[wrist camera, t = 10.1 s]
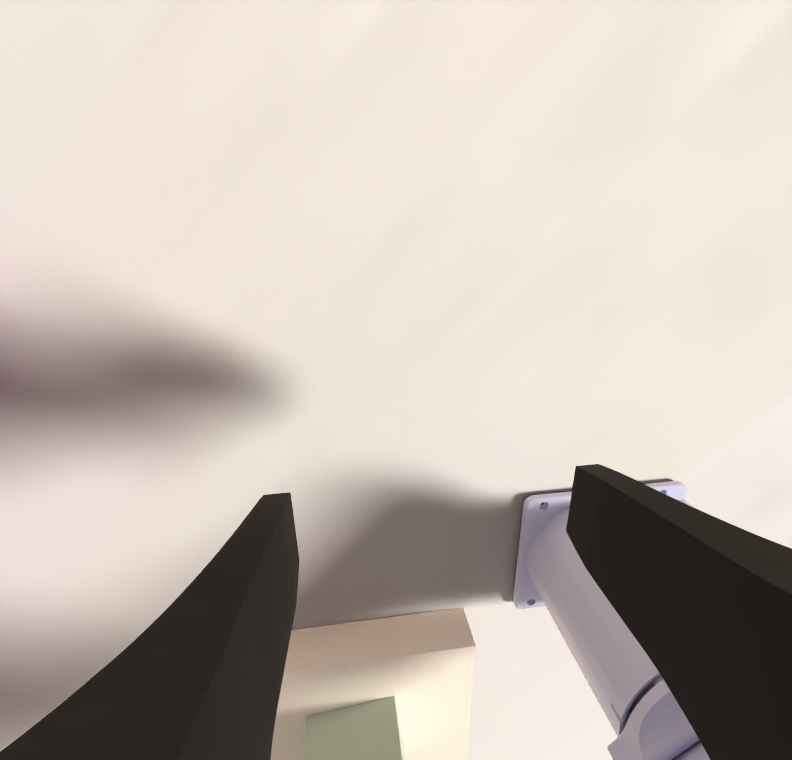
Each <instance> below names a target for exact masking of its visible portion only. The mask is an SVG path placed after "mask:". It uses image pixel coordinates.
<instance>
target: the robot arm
mask: <svg viewBox="0 0 792 760" xmlns="http://www.w3.org/2000/svg"><path fill="white" fill-rule="evenodd" d="M685 493H686V486H685V485H684V484H682V483H681V482H679V481H671V482H661V483H651V484H643V483H640V482H638V481H636V480H634V479H632V478H630V477H628V476H625V475H623V474H621V473H619V472H617V471H614V470H612V469H609V468H607V467H604V466H602V465H599V464H595V465H584V466H576V469H575V475H574V482H573V488H572V491H570V492H560V493H550V494H540V495H532V496H529V497H528V498H526V500H525V501H524V504H523V513H522V522H521V532H520V541H519V550H518V559H517V568H516V577H515V586H514V595H513V602H514V604H515V606H516V607H517V608H519V609H526V608H534V607H541V606H546V607H547V609H548V610H549V612H550V614H551V616H552V618H553V620H554V621H555V623H556V625H557V627H558V629H559V630H560V632H561V634H562V636H563V638H564V640H565V641H566V643H567V645H568V647H569V649H570V651H571V652H572V654H573V656H574V658H575V660H576V661H577V663H578V665H579V667H580V669H581V671H582V672H583V674H584V676H585V678H586V680H587V681H588V683H589V685H590V687H591V689H592V691H593V692H594V694H595V696H596V698H597V700H598V702H599V703H600V705H601V707H602V709H603V711H604V712H605V714H606V716H607V718H608V720H609V722H610V723H611V725H612V727H613V729H614V731H615V733H616V734H617V736H618V737H617V738H616V740H614V741H613V742H612V743H611V744H610V745H608V750H609V752H610V754H611V756H612V758H613V760H792V549H791V548H788V547H785V546H783V545H780V544H777V543H775V542H772V541H770V540H767V539H765V538H762V537H760V536H757V535H755V534H752V533H750V532H748V531H745V530H743V529H741V528H738V527H736V526H734V525H731V524H729V523H727V522H725V521H722V520H720V519H718V518H715V517H713V516H711V515H709V514H706V513H704V512H702V511H700V510H698V509H695V508H694V507H692V506H691V505H690V504H688V503H687V502H686V501H685V500H684V497H685ZM543 502H545V503H544V504H543V505H540V504H541V503H543ZM298 572H299V555H298V547H297V540H296V532H295V524H294V517H293V509H292V502H291V494H290V493H280V494H270V495H264V496H263V497H262V498H261V499H260V500H259V501H258V502H257V504H256V505H255V506H254V508H253V509H252V510H251V512H250V513H249V514H248V516H247V517H246V518H245V519H244V521H243V522H242V523H241V525H240V526H239V527H238V528H237V530H236V531H235V532H234V534H233V535H232V536H231V537H230V539H229V540H228V541H227V542H226V543H225V545H224V546H223V547H222V548H221V549H220V551H219V552H218V553H217V554H216V555H215V557H214V558H213V559H212V560H211V561H210V563H209V564H208V565H207V566H206V567H205V568H204V569H203V571H202V572H201V573H200V574H199V575H198V576H197V577H196V578H195V579H194V580H193V582H192V583H191V584H190V585H189V586H188V587H187V588H186V589H185V590H184V591H183V593H182V594H181V595H180V596H179V597H178V598H177V599H176V600H175V601H174V602H173V603H172V604H171V605H170V606H169V607H168V608H167V609H166V610H165V611H164V612H163V614H162V615H161V616H160V617H159V618H158V619H157V620H155V621H154V622H153V623H152V624H151V625H150V626H149V627H148V628H147V629H146V630H145V631H144V632H143V633H142V634H141V635H140V636H139V637H138V638H137V639H136V640H135V641H134V642H133V643H132V644H130V645H129V646H128V647H127V648H126V649H125V650H124V651H123V652H122V653H121V654H119V655H118V656H117V657H116V658H115V659H114V660H112V661H111V662H110V663H109V664H108V665H107V666H105V667H104V668H103V669H102V670H101V671H99V672H98V673H97V674H96V675H95V676H94V677H92V678H91V679H90V680H89V681H88V682H87V683H85V684H84V685H83V686H82V687H81V688H80V689H78V690H77V691H76V692H75V693H74V694H73V695H71V696H70V697H69V698H68V699H67V700H66V701H64V702H63V703H62V704H61V705H60V706H58V707H57V708H56V709H55V710H53V711H52V712H51V713H50V714H48V715H47V716H46V717H45V718H43V719H42V720H41V721H39V722H38V723H37V724H36V725H34V726H33V727H32V728H31V729H29V730H28V731H27V732H26V733H24V734H23V735H22V736H20V737H19V738H18V739H17V740H15V741H14V742H13V743H11V744H10V745H9V746H7V747H6V748H5V749H3V750H2V751H1V752H0V760H270V759H271V749H272V740H273V733H274V726H275V719H276V713H277V707H278V702H279V696H280V691H281V685H282V680H283V674H284V669H285V663H286V658H287V652H288V647H289V641H290V636H291V630H292V625H293V619H294V613H295V608H296V600H297V587H298Z"/></svg>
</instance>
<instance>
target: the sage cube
mask: <svg viewBox="0 0 792 760" xmlns="http://www.w3.org/2000/svg"><path fill="white" fill-rule="evenodd" d="M303 760H407V756H406V748H405V744H404V739H403V734H402V729H401V725H400V720H399V715H398V710H397V706H396V701H395V696H392V697H388V698H384V699H379V700H375V701H371V702H367V703H362V704H358V705H354V706H350V707H345V708H341V709H337V710H333V711H328V712H324V713H320V714H316V715H311V716H307V717H306V729H305V743H304V758H303Z"/></svg>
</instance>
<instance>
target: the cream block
mask: <svg viewBox="0 0 792 760" xmlns="http://www.w3.org/2000/svg"><path fill="white" fill-rule="evenodd" d="M475 648H476V646H475V642H474V639H473V636H472V633H471V630H470V627H469V624H468V621H467V618H466V615H465V612H464V609H463V608H456V609H448V610H441V611H433V612H426V613H418V614H410V615H403V616H395V617H387V618H380V619H372V620H365V621H357V622H349V623H342V624H334V625H326V626H319V627H311V628H303V629H296V630H291V636H290V641H289V647H288V652H287V658H286V663H285V669H284V674H283V680H282V685H281V691H280V696H279V702H278V707H277V713H276V719H275V726H274V733H273V740H272V749H271V759H270V760H303V758H304V743H305V729H306V717H307V716H311V715H316V714H320V713H324V712H328V711H333V710H337V709H341V708H345V707H350V706H354V705H358V704H362V703H367V702H371V701H375V700H379V699H384V698H388V697H392V696H395V701H396V706H397V710H398V715H399V720H400V725H401V729H402V734H403V739H404V744H405V748H406V756H407V760H468V749H469V735H470V720H471V706H472V691H473V677H474V662H475Z"/></svg>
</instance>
